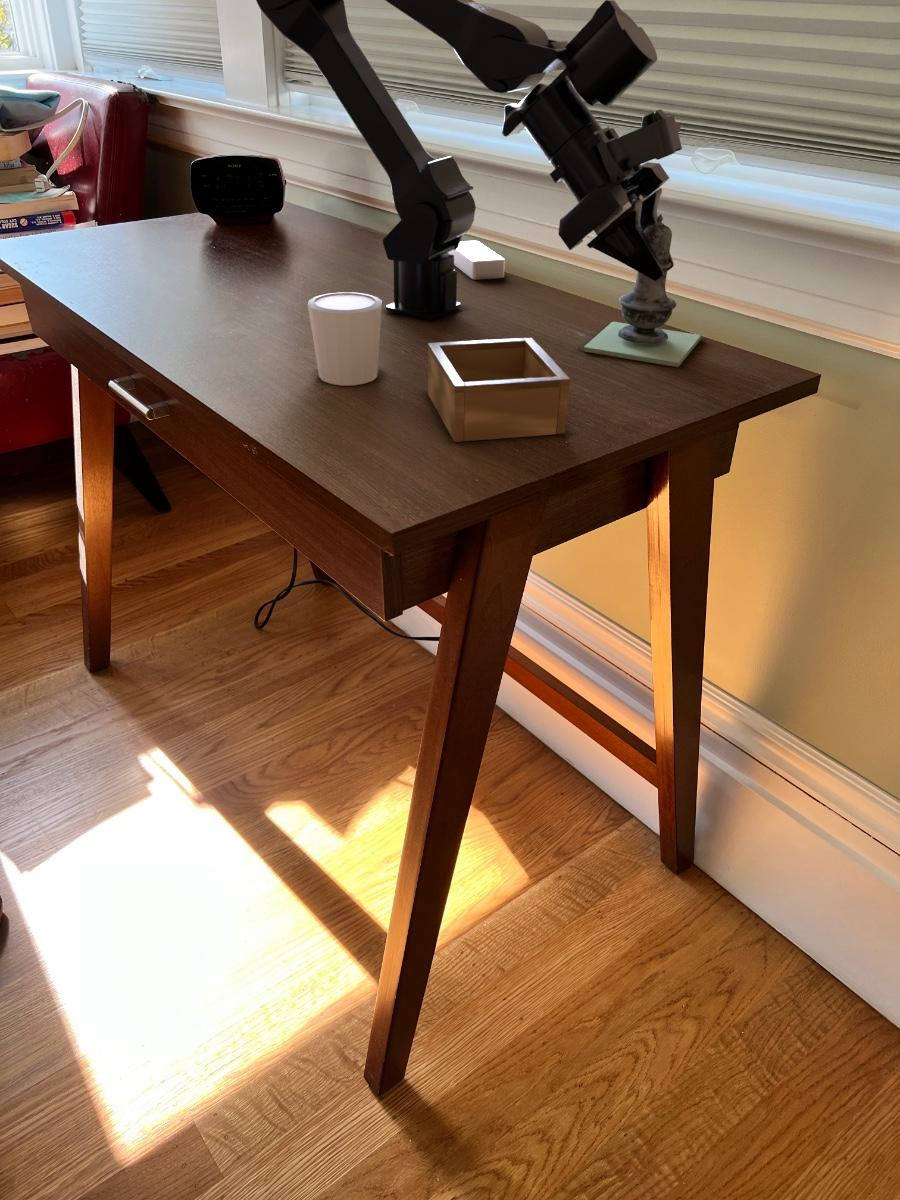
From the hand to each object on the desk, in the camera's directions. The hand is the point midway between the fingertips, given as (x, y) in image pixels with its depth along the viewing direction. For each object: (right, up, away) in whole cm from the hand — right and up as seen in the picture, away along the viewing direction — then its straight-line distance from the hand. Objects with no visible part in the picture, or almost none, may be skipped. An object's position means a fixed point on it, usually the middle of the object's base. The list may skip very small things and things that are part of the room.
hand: (665, 273), depth 91 cm
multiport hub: (-18, +11, +30) cm, 37 cm away
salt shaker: (-1, -5, +4) cm, 7 cm away
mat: (-1, -6, +5) cm, 8 cm away
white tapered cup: (-31, -11, -4) cm, 34 cm away
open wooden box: (-18, -17, -12) cm, 27 cm away
